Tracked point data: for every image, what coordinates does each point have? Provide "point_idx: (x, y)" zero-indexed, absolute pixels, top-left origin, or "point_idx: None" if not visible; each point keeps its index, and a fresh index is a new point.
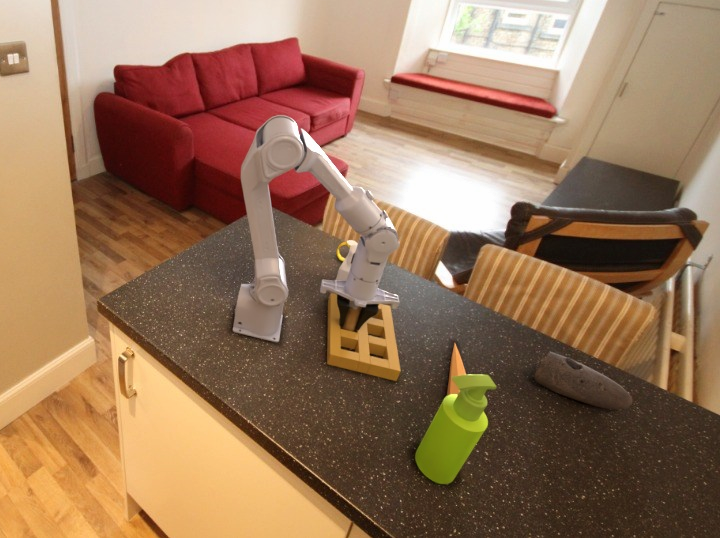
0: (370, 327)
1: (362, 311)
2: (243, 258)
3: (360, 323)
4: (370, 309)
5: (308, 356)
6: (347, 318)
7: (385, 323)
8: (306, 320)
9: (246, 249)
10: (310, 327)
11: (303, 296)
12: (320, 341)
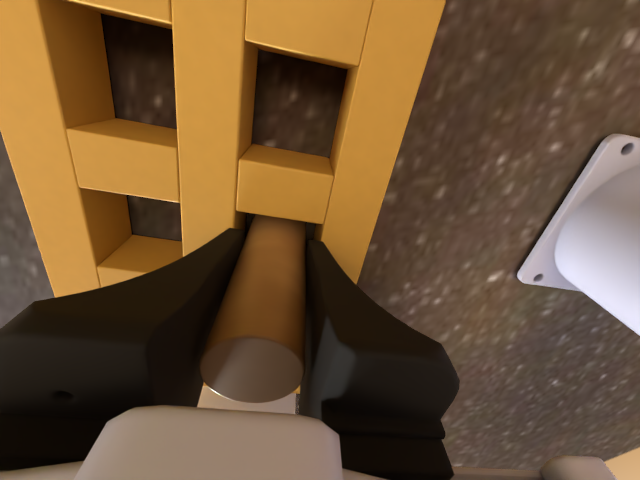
0: (168, 261)
1: (198, 326)
2: (528, 443)
3: (218, 248)
4: (82, 359)
5: (491, 66)
6: (296, 274)
7: (90, 287)
8: (423, 270)
9: (505, 465)
10: (419, 240)
11: None
12: (400, 172)
